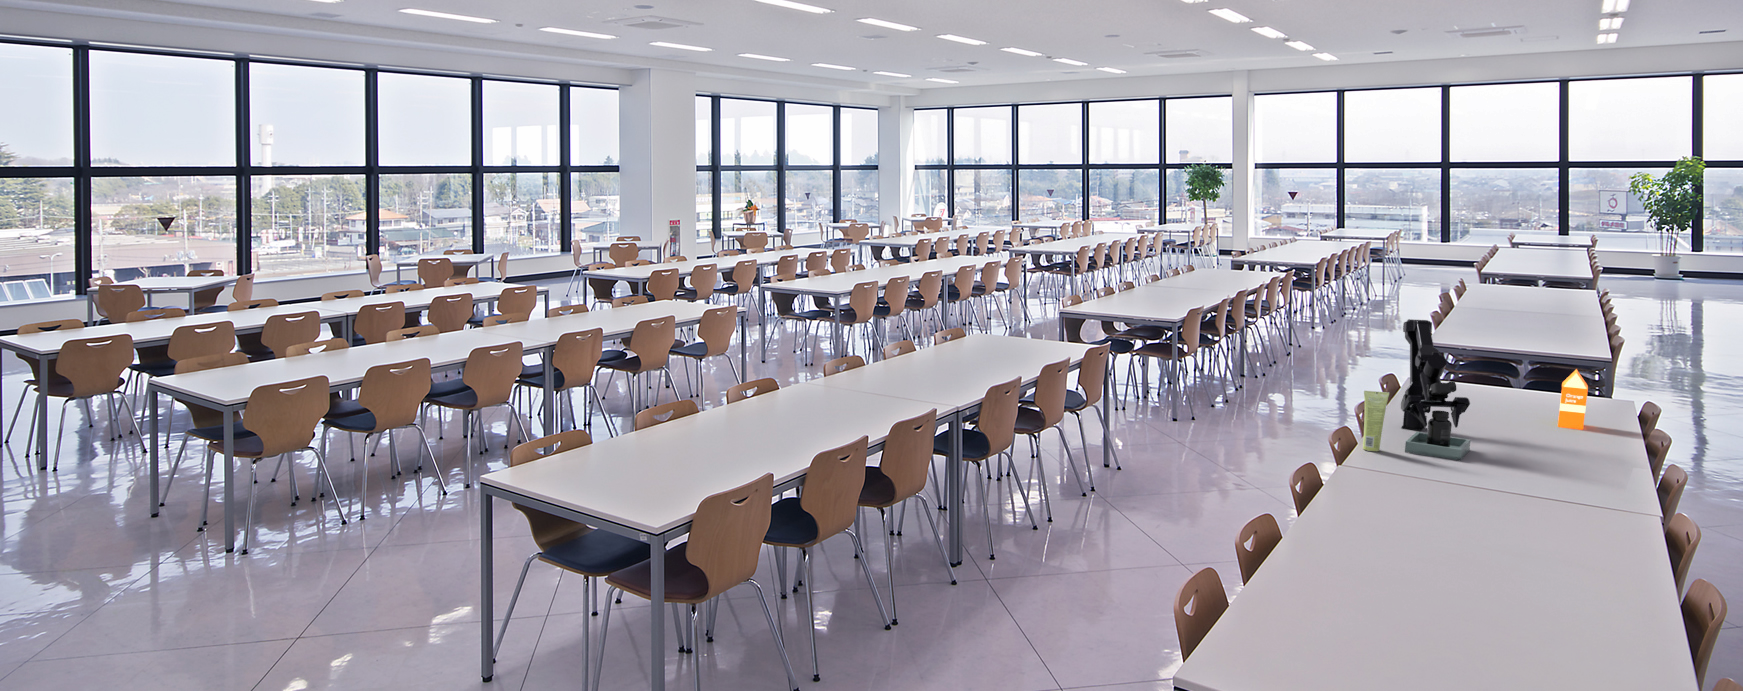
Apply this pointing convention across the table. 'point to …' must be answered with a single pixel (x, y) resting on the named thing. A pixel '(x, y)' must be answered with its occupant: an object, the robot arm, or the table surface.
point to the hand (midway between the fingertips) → (1441, 426)
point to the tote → (1437, 447)
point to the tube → (1374, 418)
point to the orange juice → (1573, 402)
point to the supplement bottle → (1439, 429)
